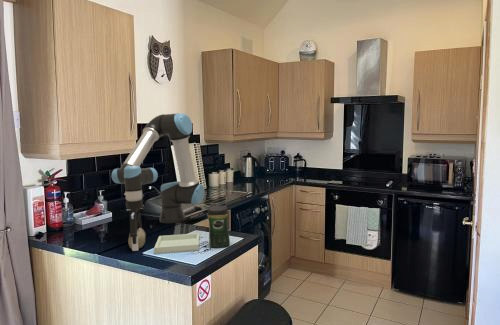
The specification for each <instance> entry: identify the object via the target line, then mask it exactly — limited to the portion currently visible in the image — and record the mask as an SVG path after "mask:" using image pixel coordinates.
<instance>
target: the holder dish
mask: <svg viewBox="0 0 500 325" xmlns="http://www.w3.org/2000/svg"><path fill="white" fill-rule="evenodd" d="M153 249H154V250H153V251H154V255H159V254H160V255H161V254H174V253H186V252H198V251H200V232H198V233H196V232H195V233H183V234H182V233H181V234H170V235H169V234H168V235H159V236H158V238H157V241H156V243H155V245H154V247H153Z"/></svg>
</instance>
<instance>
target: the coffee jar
mask: <svg viewBox="0 0 500 325" xmlns="http://www.w3.org/2000/svg"><path fill="white" fill-rule="evenodd" d="M206 217H207V219H208V223H209V224H208V225H209V227H208V229H209V230H208V233H209V234H208V245H209V247H211V248H224V247H228V246H230V245H231V244H230V243H231V242H230V235H229V227H228V217H229V210H228V207H227V205H213V206H212V205H211V206H210V205H209V206H208V207H207V214H206Z"/></svg>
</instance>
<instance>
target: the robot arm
mask: <svg viewBox="0 0 500 325" xmlns="http://www.w3.org/2000/svg"><path fill="white" fill-rule="evenodd" d="M192 132H193V123H192V120H191V117H190V116H188V115H187V114H186V113H178V112H177V113H168V114H167V113H166V114H163V113H162V114H159V115H156V116H155V117H153V118H152V119H151V120H149V122H147V123H146V125H145V126H144V128H143V129H142V134H141V136H140V138H139V139H138V140H137V142H136V143H135V145H134V147H133V148H132V149H131V151H130V153H129V154H128V156H127V157H126V158H125V161H123V163H122V165H121V167H120V168H119V167H117V168H114V169H113V170H112V172H111V179H112V181H113V183H115V184H119V185H123V184H124V193H123V195H124V196H125V200H126V201H125V207H126V209H127V210H130V213H129V215H128V216H129V234H130V236H129V235H128V238H129V237H131V240H132V249H131V250H132V252H136V251H139V249H140V248H138V236H137V230H138V229H139V228H142V229H143V230H144V228H143V227H142V226H143V224H142V217H141V209H142V208H144V204H143V203H144V200H143V186H144V185H149V184H152V183H155V182H156V181H157V179H158V178H159V176H158V175H159V174H158V171H157V170H156V168H154V167H146V168H141V164H142V163H143V162H144V160H145V158H146V157H147V154H148V153H149V152H150V150H151V148H152V147H153V145H154V143H155V142H157V141H158V140H160V138H161V137H163V136H168V139H169V141H170V142H172V146H173V150H174V155H175V160H176V164H177V170H178V174H179V178H180V181H173V182H167V183H162V184H161V186H160V201H161V202H160V203H161V210H160V211H161V212H160V215H159V218H158V219H159V223H160V224H177V223H182V222H184V221H185V220H186V215H185V213H184V210H183V207H182V205H199V204H200V203H202V202H203V199H204V196H205V186H204V185H203V184H201V183H200V180H199V179H198V178H196V174H195V169H194V164H193V159H192V154H191V149H190V144H189V138H190V137H191V135H190V134H192ZM133 233H134V234H133Z"/></svg>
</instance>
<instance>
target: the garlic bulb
mask: <svg viewBox="0 0 500 325" xmlns="http://www.w3.org/2000/svg"><path fill="white" fill-rule="evenodd" d="M142 228H143V227H142ZM142 228H139V229H138V230H137V236H138V249H142V248H143V246H144V245H145V243H146V236H147V234H146V232H145V230H144V228H143V229H142ZM133 234H134V233H133ZM129 236H130V233H129V235H128V240H127V241H128V246H129V248H130V249H131V250H132V240H131V237H129Z"/></svg>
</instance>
